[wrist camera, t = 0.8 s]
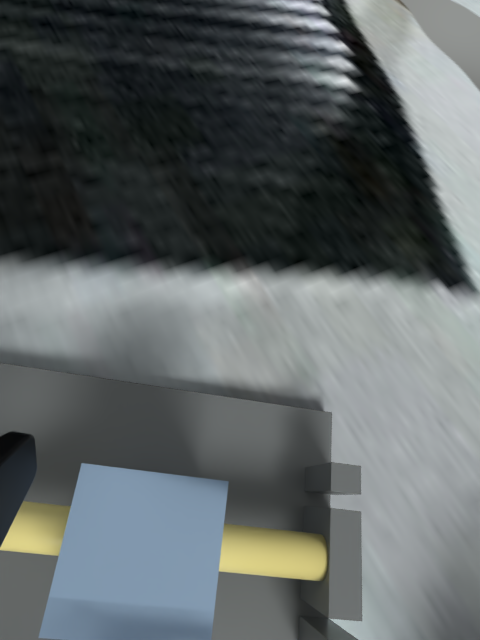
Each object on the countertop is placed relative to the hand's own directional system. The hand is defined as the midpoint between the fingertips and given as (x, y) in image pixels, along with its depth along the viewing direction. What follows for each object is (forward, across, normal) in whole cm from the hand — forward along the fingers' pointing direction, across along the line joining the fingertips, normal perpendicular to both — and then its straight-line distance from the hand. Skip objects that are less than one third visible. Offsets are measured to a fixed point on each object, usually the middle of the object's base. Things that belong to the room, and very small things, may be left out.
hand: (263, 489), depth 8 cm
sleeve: (+7, +4, +11) cm, 14 cm away
